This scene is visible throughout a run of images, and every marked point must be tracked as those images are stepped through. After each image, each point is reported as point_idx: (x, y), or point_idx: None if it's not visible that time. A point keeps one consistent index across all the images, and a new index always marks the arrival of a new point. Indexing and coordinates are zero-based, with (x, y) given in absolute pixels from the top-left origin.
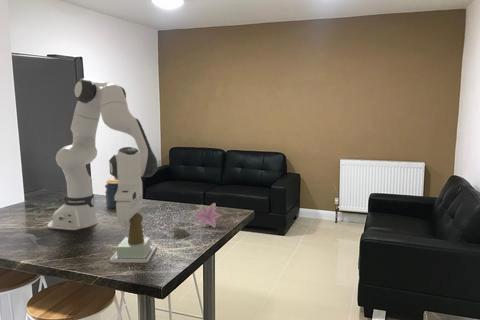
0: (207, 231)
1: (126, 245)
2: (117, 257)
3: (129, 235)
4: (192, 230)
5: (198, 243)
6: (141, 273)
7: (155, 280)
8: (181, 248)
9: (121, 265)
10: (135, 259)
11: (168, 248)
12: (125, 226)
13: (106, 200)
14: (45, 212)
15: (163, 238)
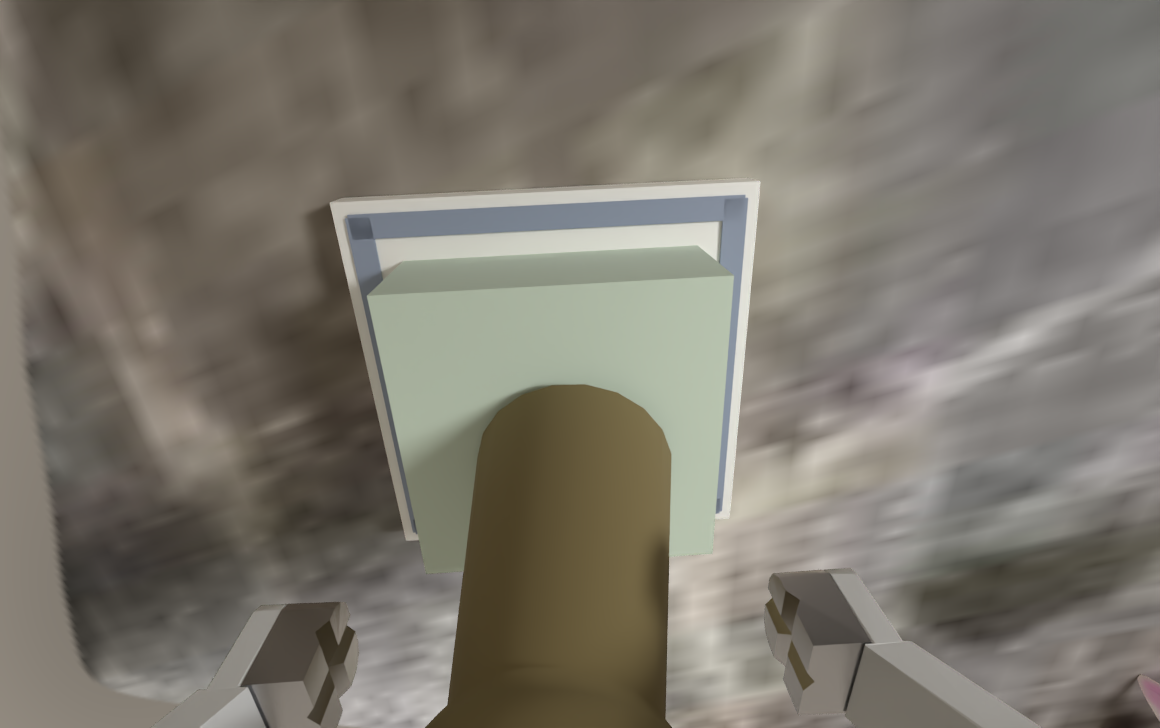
0: None
1: (442, 398)
2: (395, 267)
3: (496, 483)
4: (1079, 641)
5: (792, 719)
6: (216, 536)
7: (152, 641)
8: (705, 653)
9: (306, 338)
10: (387, 452)
11: (708, 580)
12: (220, 690)
13: None
14: None
15: (947, 492)
